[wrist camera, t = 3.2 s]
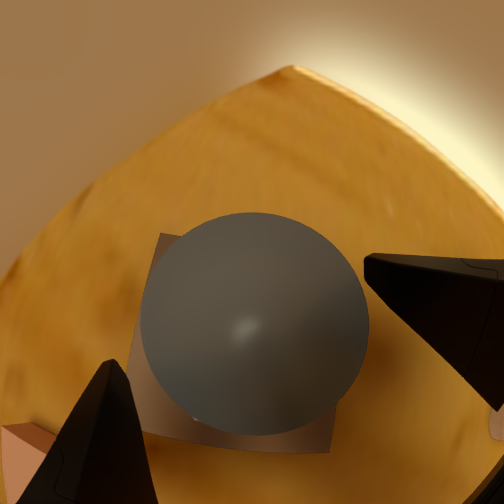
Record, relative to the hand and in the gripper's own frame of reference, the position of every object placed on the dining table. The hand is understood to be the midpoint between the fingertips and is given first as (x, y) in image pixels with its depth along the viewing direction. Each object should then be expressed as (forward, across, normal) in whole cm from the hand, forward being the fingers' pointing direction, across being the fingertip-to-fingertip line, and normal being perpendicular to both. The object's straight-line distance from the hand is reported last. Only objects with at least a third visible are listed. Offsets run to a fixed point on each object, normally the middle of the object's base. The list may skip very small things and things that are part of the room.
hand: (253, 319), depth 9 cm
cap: (+2, 0, +2) cm, 3 cm away
